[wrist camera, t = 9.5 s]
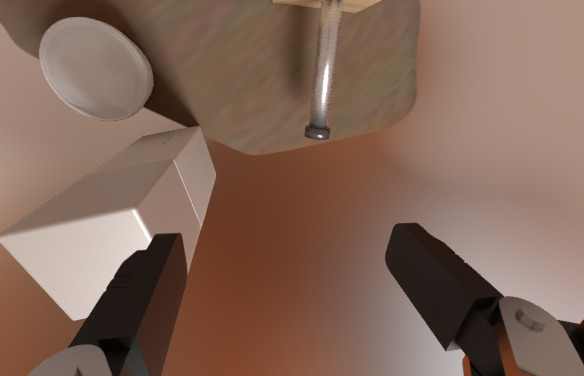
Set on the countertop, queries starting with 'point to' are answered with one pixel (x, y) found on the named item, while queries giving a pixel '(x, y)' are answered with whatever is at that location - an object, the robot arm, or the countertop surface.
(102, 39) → the ramekin
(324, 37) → the shaft
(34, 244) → the tall white carton
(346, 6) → the block
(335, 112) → the countertop surface
